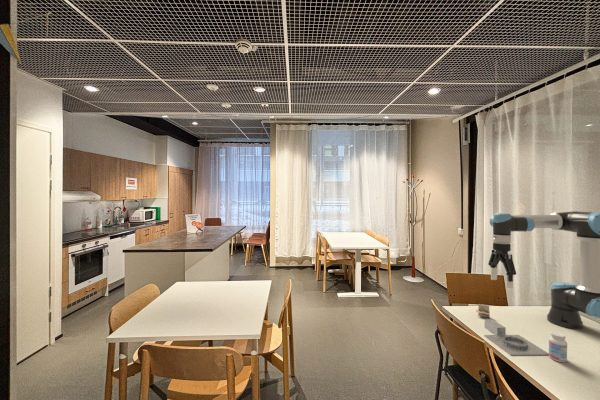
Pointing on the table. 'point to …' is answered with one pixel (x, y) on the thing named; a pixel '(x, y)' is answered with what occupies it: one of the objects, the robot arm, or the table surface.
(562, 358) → the pill bottle
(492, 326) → the duct collar
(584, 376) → the table surface
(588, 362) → the table surface
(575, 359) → the table surface
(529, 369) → the table surface
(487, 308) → the architectural model
